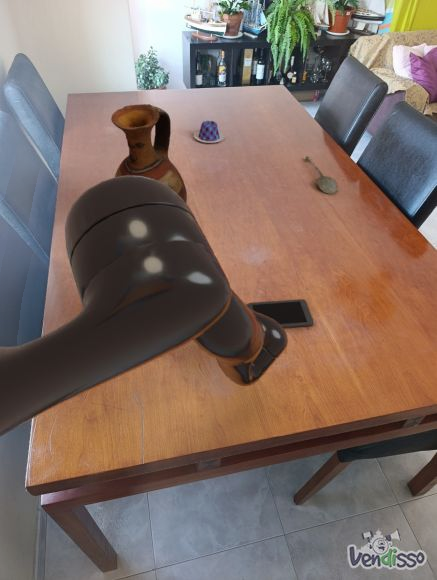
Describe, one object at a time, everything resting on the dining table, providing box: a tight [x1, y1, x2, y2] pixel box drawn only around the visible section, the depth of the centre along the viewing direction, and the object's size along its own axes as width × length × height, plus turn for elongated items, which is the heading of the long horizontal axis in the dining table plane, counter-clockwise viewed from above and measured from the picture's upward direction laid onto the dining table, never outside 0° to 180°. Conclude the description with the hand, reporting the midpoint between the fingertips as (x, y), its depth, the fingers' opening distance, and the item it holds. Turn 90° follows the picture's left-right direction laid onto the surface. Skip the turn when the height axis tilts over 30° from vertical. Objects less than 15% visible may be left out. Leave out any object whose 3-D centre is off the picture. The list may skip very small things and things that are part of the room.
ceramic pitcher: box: [110, 103, 188, 204], centre depth 97 cm, size 20×20×30 cm
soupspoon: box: [305, 155, 339, 195], centre depth 125 cm, size 22×3×7 cm
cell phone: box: [246, 298, 314, 329], centre depth 83 cm, size 7×14×1 cm, turn 97°
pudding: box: [193, 120, 226, 144], centre depth 140 cm, size 12×12×5 cm
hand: (127, 237), depth 70 cm, fingers closed on syrup box, 7 cm apart
